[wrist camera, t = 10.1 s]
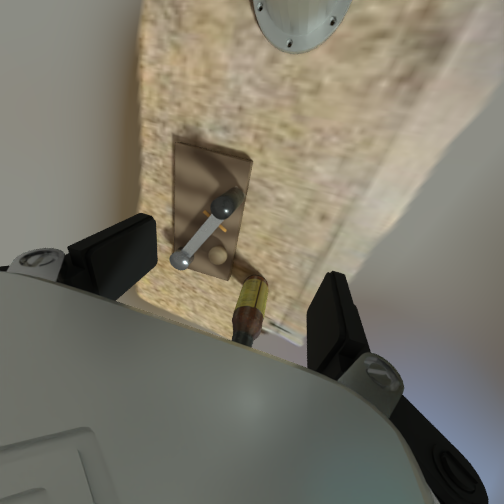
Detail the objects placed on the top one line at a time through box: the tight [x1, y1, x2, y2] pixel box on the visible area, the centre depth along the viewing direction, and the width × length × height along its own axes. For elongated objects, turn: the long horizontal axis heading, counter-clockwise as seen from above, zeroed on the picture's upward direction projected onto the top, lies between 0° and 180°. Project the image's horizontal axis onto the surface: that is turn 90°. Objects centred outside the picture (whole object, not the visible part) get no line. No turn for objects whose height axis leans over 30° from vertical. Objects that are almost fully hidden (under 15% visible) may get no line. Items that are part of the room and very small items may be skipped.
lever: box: [170, 186, 246, 270], centre depth 38 cm, size 24×4×10 cm, turn 138°
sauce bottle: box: [232, 276, 268, 347], centre depth 41 cm, size 7×6×20 cm
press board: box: [174, 142, 253, 281], centre depth 41 cm, size 27×14×6 cm, turn 168°
